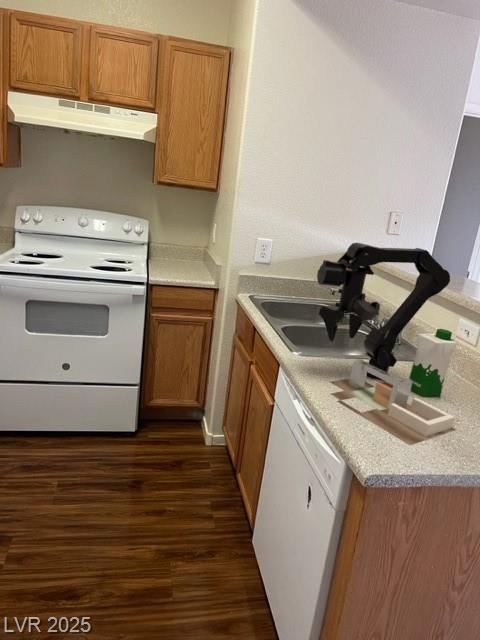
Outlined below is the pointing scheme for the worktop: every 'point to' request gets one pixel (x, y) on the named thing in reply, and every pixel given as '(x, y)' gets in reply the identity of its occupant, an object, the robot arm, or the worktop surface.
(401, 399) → the grey bridge
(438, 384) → the milk carton
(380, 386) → the cube
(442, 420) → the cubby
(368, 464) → the worktop surface
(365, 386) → the board
